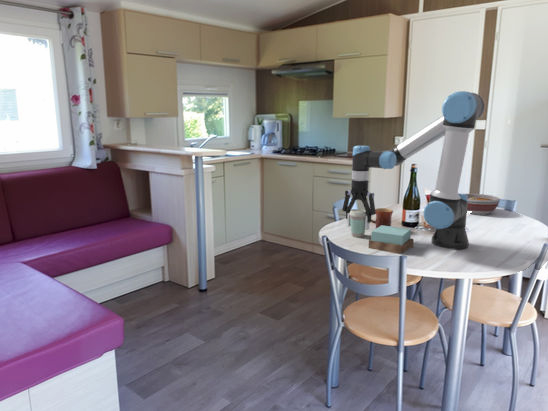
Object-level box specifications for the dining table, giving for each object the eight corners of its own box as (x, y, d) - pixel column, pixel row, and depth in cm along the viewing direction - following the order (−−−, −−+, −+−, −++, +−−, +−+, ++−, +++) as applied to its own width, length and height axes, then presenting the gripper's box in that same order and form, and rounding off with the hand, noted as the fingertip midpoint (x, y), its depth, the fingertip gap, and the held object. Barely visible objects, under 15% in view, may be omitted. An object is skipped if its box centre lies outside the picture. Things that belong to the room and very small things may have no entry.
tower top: (410, 238, 191) (411, 229, 190) (401, 245, 180) (402, 235, 179) (381, 233, 198) (381, 225, 197) (371, 240, 187) (371, 231, 186)
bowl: (449, 209, 268) (451, 193, 266) (489, 210, 265) (490, 193, 263) (461, 217, 245) (463, 200, 243) (504, 218, 243) (506, 200, 241)
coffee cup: (367, 238, 202) (368, 213, 200) (348, 237, 204) (349, 212, 202) (367, 233, 211) (368, 209, 208) (348, 233, 212) (349, 208, 210)
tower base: (412, 247, 191) (413, 238, 190) (400, 255, 180) (400, 246, 179) (382, 242, 199) (382, 233, 198) (368, 249, 188) (368, 240, 187)
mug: (393, 229, 220) (394, 208, 218) (391, 233, 212) (392, 212, 210) (369, 226, 224) (370, 207, 222) (365, 230, 216) (366, 210, 214)
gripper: (385, 180, 199) (382, 229, 203) (343, 176, 212) (341, 222, 216) (378, 182, 193) (375, 233, 197) (335, 178, 206) (334, 225, 210)
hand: (358, 227), depth 207 cm, fingers closed on coffee cup, 8 cm apart
